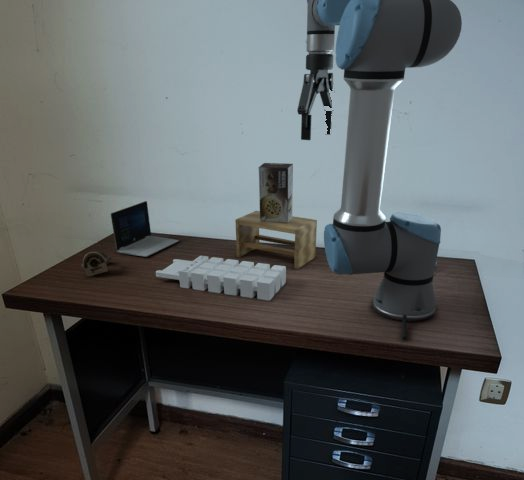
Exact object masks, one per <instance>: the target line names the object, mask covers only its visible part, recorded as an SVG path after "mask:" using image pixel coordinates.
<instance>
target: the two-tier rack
mask: <svg viewBox="0 0 524 480" xmlns="http://www.w3.org/2000/svg"><path fill="white" fill-rule="evenodd" d="M234 221H235V244H236V245H235V246H236V247H235V248H236V258H237V257H238V258H241V257H244V256H245V255H246V254H248V253H250V252H252V251H254V250H261V251H266V252H271V253H276V254H281V255H287V256H292V257H294V263H293V265H294V266H293V267H294V268H293V269H295V270H299V269H300V268H302V267H303V266H305V265H306V264H308V263H309V262H310V261H312V260H314V259H315V258H316V251H317V228H318V219H312V218H306V217H300V216H295V215H292V219H291V220H290V221H289V222H288V223H280V222H262V221H260V210H254V211H252V212H249V213H247V214H245V215H243V216H240V217H237V218H236V219H235V220H234ZM260 229H263V230H267V231H275V232H279V233H286V234H291V235H294V240H290V239H286V238H279V237H275V236H274V237H273V236H269V235H264V234H260ZM260 241H264V242H268V243H275V244H280V245H285V246H289V247H290V246H291V247H294V249H289V248H283V247H278V246H272V245H268V244H262V243H260Z"/></svg>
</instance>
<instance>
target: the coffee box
mask: <svg viewBox="0 0 524 480" xmlns="http://www.w3.org/2000/svg"><path fill="white" fill-rule="evenodd" d="M293 165H294V163H283V162H282V163H281V162H277V163H276V162H264V163H262V164H261V165H260V166H258V196H259V198H258V199H259V211H260V221H262V222H280V223H288V222H289V221H290V220H291V219H292V216H293V182H294V181H293V177H294V176H293V172H294V171H293V170H294V169H293V168H294V166H293Z"/></svg>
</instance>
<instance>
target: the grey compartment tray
mask: <svg viewBox="0 0 524 480" xmlns="http://www.w3.org/2000/svg"><path fill="white" fill-rule="evenodd" d="M209 257H210V256H207V255H199V256H198V257H196V258H195V259H194V260H186V259H178V258H174V259H172V263H171V264H170V265H168V266H166V267H165V268H163V269H162V270H161V269H157V270H156V271H155V276H156V277H157V278H163V279H170V280H177V281H179V287H180V288H183V289H190V288H192V290H196V291H203V292H205V291H206V290H207V292H210V293H216V294H221V293H222V292H223V293H224V295H229V296H238V295H239V293H240V297H243V298H249V299H254V297H255V296H256V299H257V300H262V301H271V300H272V299H273V298H274V296H275V295H276V294H277V293H278V292H279V291H280V290H281V288H282V287H284V285H285V284H286V282H287V266H285V265H278V264H274V265H273V266H272V267H271V264H269V263H261V262H258V263H256V264H255V262H254V261H246V260H242V261H241V262H240V261H239V260H238V259H231V258H227V259H225V260H224V258H222V257H215V256H212V257H210V258H209Z"/></svg>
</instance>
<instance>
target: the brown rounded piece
mask: <svg viewBox="0 0 524 480" xmlns="http://www.w3.org/2000/svg"><path fill="white" fill-rule="evenodd" d="M112 259H113V258H112V256H111V255H107V254H105V253H104V252H103V251H99V250H94V251H89V252H87V253H86V254H85V255H84V256H83V259H82V263H81V264H80V265H81V268H82V269H84V271H85V273H86V276H87V277H91V276H92V277H93V276H95V275H100V274H102V273H107V272H109V269H108V267H109V261H111V260H112Z"/></svg>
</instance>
